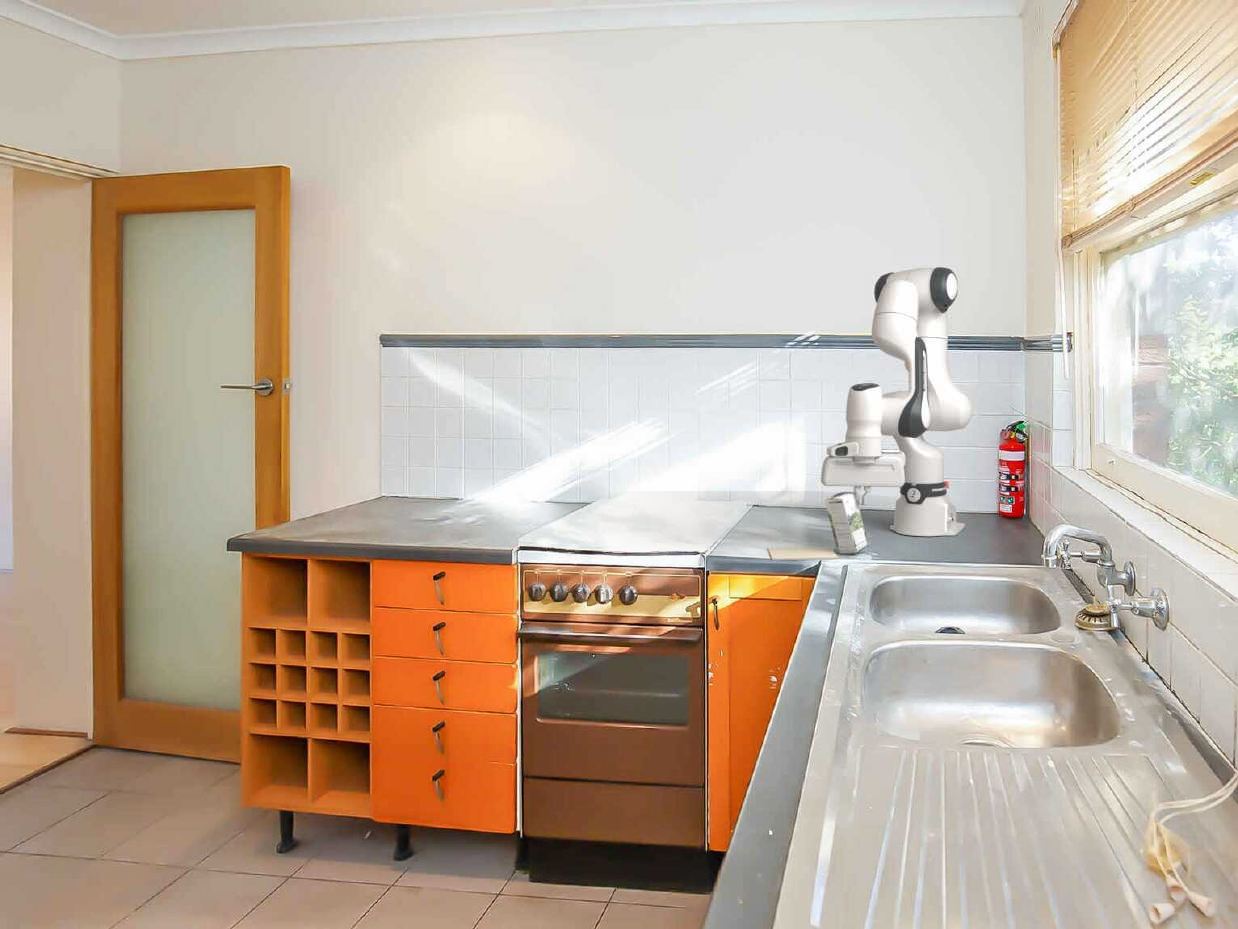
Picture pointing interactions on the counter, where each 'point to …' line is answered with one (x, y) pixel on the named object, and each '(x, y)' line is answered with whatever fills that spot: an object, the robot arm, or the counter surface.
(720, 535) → the counter surface
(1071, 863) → the counter surface
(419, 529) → the counter surface
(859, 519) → the syrup box
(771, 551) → the mat
